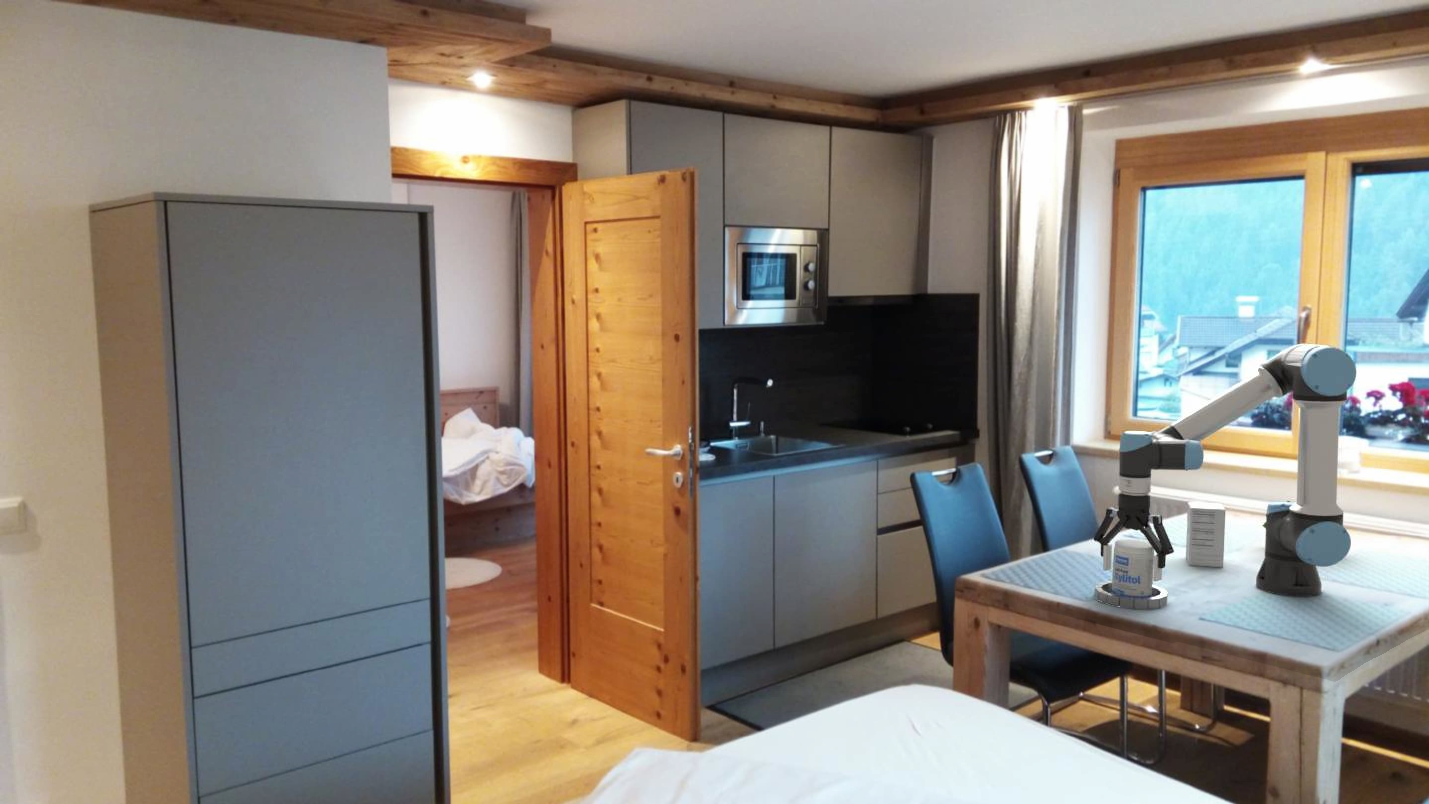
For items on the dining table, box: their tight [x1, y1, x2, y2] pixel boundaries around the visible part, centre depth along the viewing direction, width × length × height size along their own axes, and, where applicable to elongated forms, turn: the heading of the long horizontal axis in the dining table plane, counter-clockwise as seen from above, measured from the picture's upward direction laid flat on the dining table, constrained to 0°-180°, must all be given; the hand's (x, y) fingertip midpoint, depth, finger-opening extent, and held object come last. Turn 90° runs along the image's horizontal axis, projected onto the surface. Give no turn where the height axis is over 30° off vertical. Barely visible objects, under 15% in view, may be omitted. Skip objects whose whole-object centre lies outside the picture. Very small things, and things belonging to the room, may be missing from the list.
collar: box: [1094, 580, 1169, 610], centre depth 268 cm, size 17×17×2 cm
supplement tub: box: [1111, 538, 1155, 598], centre depth 267 cm, size 10×10×15 cm
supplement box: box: [1185, 501, 1227, 568], centre depth 303 cm, size 10×9×17 cm
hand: (1131, 575), depth 267 cm, fingers open, 13 cm apart
